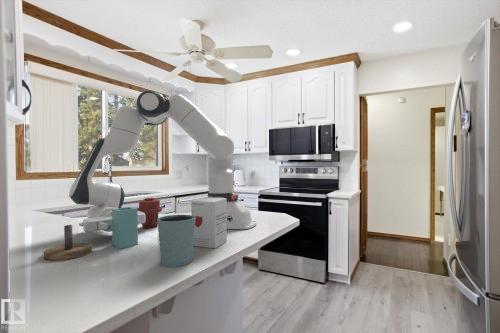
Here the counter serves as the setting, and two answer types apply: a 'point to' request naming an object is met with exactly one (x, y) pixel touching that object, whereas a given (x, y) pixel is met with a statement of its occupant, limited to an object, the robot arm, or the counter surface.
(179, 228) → the teal cup
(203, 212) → the supplement box
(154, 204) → the mechanical component
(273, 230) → the counter surface
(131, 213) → the teal box
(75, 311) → the counter surface
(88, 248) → the post stand
